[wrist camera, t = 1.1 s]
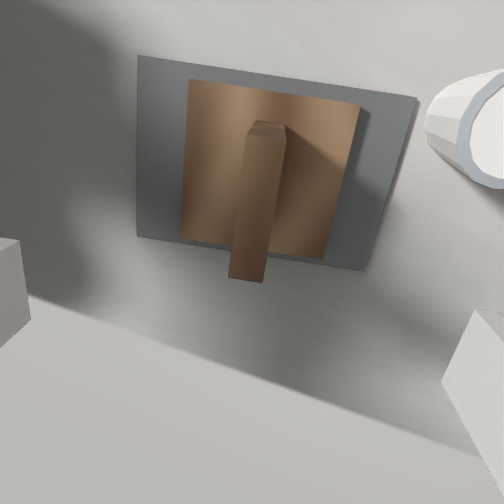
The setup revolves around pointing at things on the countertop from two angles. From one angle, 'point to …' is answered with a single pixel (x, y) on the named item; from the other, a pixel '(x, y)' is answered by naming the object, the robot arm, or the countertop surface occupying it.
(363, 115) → the mat
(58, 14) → the countertop surface
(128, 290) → the countertop surface
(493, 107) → the white grey-rimmed cup
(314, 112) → the board
